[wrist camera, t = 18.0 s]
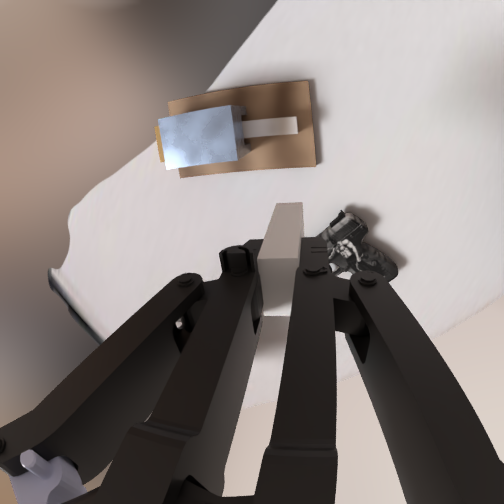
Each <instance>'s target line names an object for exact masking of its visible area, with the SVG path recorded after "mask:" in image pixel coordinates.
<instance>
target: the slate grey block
mask: <svg viewBox="0 0 504 504" xmlns="http://www.w3.org/2000/svg"><path fill="white" fill-rule="evenodd" d="M241 115H247V112H246V106H236V105H227V106H221V107H215V108H209V109H204V110H198V111H193V112H188V113H183V114H179V115H174V116H170V117H166V118H161V119H158V122H159V129H160V135H161V141H162V147H163V153H164V158H165V164H166V169H174V168H181V167H188V166H195V165H203V164H211V163H219V162H228V161H238V160H239V159H241V158H242V157H244V156H245V155H246V154H248V153H249V152H251V144H250V143H244V135H243V127H242V119H241Z"/></svg>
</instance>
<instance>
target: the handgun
mask: <svg viewBox="0 0 504 504" xmlns="http://www.w3.org/2000/svg"><path fill="white" fill-rule="evenodd" d="M367 233H368V228H367V225H366V223H365V222H364V221H362V220H361V219H360V218H358V217H357V216H355V215H353V214H352V213H346V214H344V212H343V211H342V210H341V212H340V213H339V214H338V217H337V218H336V219H334V220H333V221H332V222H331V223H330V226H329V227H328V228H326V229H325V230H324V231H323V232H322V233H321V234H319V235H318V236H317V237H322V238H323V239H324V240H325V241H327V250H328V260H329V263H335V264H337V265H338V266H340V268H339V269H338V270H337V271H335V272H333V273H332V268H331V266H330V265H329V268H330V270H331V273H332V274H334V275H335V276H337V275H339V274H340V273H342V272H347V271H349V272H351V273H352V274H354V273H356V272H359V271H366V270H368V271H374V272H377V273H379V274H381V275H382V276H383V277H384V278H385V279H386V280H387V281H388V282H390V281H391V280H393V279H394V278H395V277H397V275H398V268H397V266H396V264H395V263H394V262H393V261H392V260H391V259H390V258H388V257H387V256H386V255H385V254H383V253H382V252H380V251H379V250H377V249H375V248H374V247H372V246H370V245H368V244H366V243H364V242H362V241H363V239H364V237H365V236H366V234H367Z"/></svg>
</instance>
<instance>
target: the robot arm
mask: <svg viewBox="0 0 504 504" xmlns="http://www.w3.org/2000/svg"><path fill="white" fill-rule="evenodd" d="M219 257H220V262H221V267H222V274H221V276H220V278H219V279H217V280H213V281H207V282H203V280H202V277H201V276H200V275H199V274H196V273H187V274H186V273H185V274H182V275H180V276H177V277H176V278H174V279H173V280H172V281H171V282H169V283H168V284H167V285H166V286H165V287H164V288H163V289H162V290H160V291H159V292H158V293H157V294H156V295H155V296H154V297H152V298H151V299H150V300H149V301H148V302H147V303H146V304H145V305H144V306H142V307H141V308H140V309H139V310H138V311H137V312H136V313H135V314H134V315H132V316H131V317H130V318H129V319H128V320H127V321H126V322H125V323H124V324H123V325H121V326H120V327H119V328H118V329H117V330H116V331H115V332H114V333H113V334H112V335H111V336H109V337H108V338H107V339H106V340H105V341H104V342H103V343H102V344H101V345H100V346H99V347H98V348H97V349H95V350H94V351H93V352H92V353H91V354H90V355H89V356H88V357H87V358H86V359H85V360H84V361H83V362H82V363H81V364H80V365H79V366H78V367H76V368H75V369H74V370H73V371H72V372H71V373H70V374H69V375H68V376H67V377H66V378H65V379H64V380H63V381H62V382H61V383H60V384H59V385H58V386H57V387H56V388H55V389H54V390H53V391H52V392H51V393H50V394H49V395H48V396H47V397H46V398H45V399H44V400H43V401H42V402H41V403H40V404H39V405H38V406H37V407H36V408H35V409H34V410H33V411H30V412H29V413H27V414H25V415H23V416H22V417H20V418H18V419H16V420H14V421H13V422H10V423H9V424H7V425H5V426H3V427H1V428H0V469H1V470H2V471H4V472H5V473H7V474H8V475H9V477H10V481H11V484H12V487H13V490H14V493H15V496H16V499H17V502H18V504H335V494H336V481H337V466H338V453H337V449H336V412H337V411H336V410H337V409H336V408H337V386H336V385H337V376H336V340H335V331H339V332H343V333H345V338H346V340H347V343H348V345H349V348H350V350H351V352H352V355H353V357H354V359H355V362H356V364H357V367H358V369H359V372H360V374H361V377H362V379H363V382H364V384H365V387H366V389H367V391H368V394H369V397H370V399H371V401H372V404H373V407H374V409H375V412H376V415H377V418H378V420H379V423H380V426H381V428H382V431H383V433H384V437H385V439H386V442H387V445H388V448H389V451H390V454H391V456H392V459H393V462H394V465H395V468H396V471H397V474H398V477H399V480H400V484H401V487H402V490H403V493H404V496H405V499H406V502H407V504H504V463H503V462H502V461H500V460H499V458H498V455H497V453H496V451H495V449H494V447H493V445H492V443H491V441H490V439H489V437H488V435H487V433H486V431H485V429H484V427H483V425H482V423H481V421H480V419H479V418H478V416H477V414H476V412H475V410H474V409H473V407H472V405H471V403H470V402H469V400H468V398H467V397H466V395H465V393H464V391H463V390H462V388H461V386H460V385H459V383H458V381H457V380H456V378H455V377H454V375H453V373H452V372H451V370H450V369H449V367H448V366H447V364H446V362H445V361H444V359H443V358H442V356H441V355H440V353H439V352H438V350H437V349H436V347H435V346H434V344H433V343H432V341H431V340H430V338H429V337H428V336H427V334H426V333H425V331H424V330H423V328H422V327H421V326H420V324H419V323H418V321H417V320H416V319H415V317H414V316H413V314H412V313H411V312H410V310H409V309H408V308H407V306H406V305H405V304H404V302H403V301H402V300H401V298H400V297H399V296H398V294H397V293H396V292H395V290H394V289H393V288H392V287H391V285H390V284H389V283H388V281H387V280H386V279H385V278H384V277H383V276H382V275H381V274H379V273H377V272H374V271H368V270H366V271H359V272H356V273H354V274H353V275H352V276H351V278H350V280H348V279H343V278H339V277H337V276H335V275H334V274H332V273H331V270H330V268H329V260H328V250H327V241H325V240H324V239H323V238H322V237H304V221H303V204H302V202H299V203H276V206H275V209H274V212H273V215H272V217H271V220H270V223H269V226H268V229H267V232H266V235H265V237H264V239H254V240H249V241H248V242H246V243H245V244H244V245H237V246H231V247H228V248H225V249H224V250H222V251H221V252H220V253H219ZM262 308H263V311H264V316H290V322H289V329H288V336H287V344H286V350H285V357H284V364H283V370H282V377H281V383H280V389H279V395H278V401H277V408H276V413H275V418H274V424H273V429H272V435H271V440H270V443H269V446H268V447H267V448H266V450H265V452H264V455H263V459H262V464H261V468H260V472H259V477H258V481H257V486H256V491H255V494H254V495H252V496H237V497H222V493H223V489H224V470H225V465H226V462H227V458H228V454H229V451H230V447H231V443H232V440H233V436H234V433H235V429H236V425H237V422H238V418H239V414H240V410H241V406H242V403H243V399H244V395H245V391H246V387H247V383H248V379H249V375H250V371H251V367H252V363H253V359H254V355H255V351H256V347H257V343H258V339H259V335H260V331H261V327H262V317H261V312H262ZM179 319H181V322H182V325H181V326H180V327H178V328H177V326H176V322H177V321H178V320H179ZM152 411H153V412H152ZM151 413H152V414H151ZM150 414H151V416H150V418H149V419H148V420H147V421H146V422H144V421H145V420H146V419H147V418H148V416H149V415H150ZM112 460H113V461H112ZM111 461H112V463H111V465H110V467H109V469H108V471H107V473H106V475H105V478H104V480H103V482H102V484H101V486H99V487H97V488H95V489H93V490H91V491H89V492H87V490H86V488H85V487H84V486H83V485H84V484H85V483H87V482H89V481H90V480H92V479H93V478H94V477H96V476H97V475H98V474H99V473H100V472H102V471H103V470H104V469H105V468H106V467H107V465H108V464H109V463H110V462H111Z"/></svg>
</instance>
